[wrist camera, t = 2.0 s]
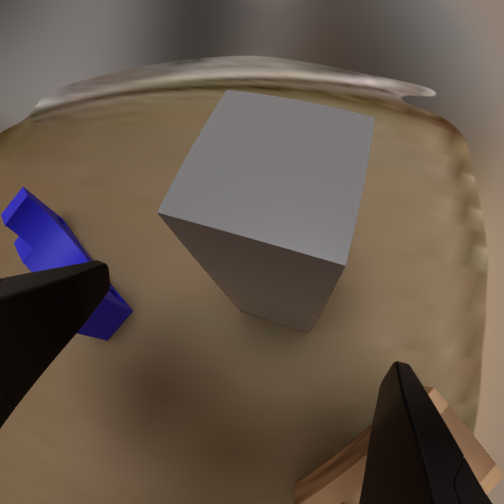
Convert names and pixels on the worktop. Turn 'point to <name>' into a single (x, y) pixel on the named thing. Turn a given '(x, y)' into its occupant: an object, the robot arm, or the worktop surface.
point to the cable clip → (58, 256)
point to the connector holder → (355, 454)
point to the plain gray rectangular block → (272, 201)
